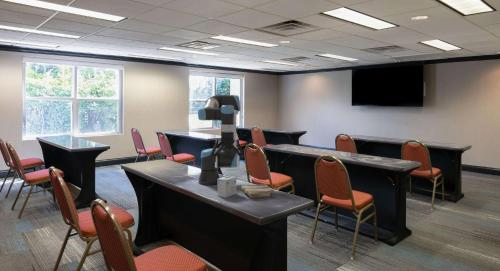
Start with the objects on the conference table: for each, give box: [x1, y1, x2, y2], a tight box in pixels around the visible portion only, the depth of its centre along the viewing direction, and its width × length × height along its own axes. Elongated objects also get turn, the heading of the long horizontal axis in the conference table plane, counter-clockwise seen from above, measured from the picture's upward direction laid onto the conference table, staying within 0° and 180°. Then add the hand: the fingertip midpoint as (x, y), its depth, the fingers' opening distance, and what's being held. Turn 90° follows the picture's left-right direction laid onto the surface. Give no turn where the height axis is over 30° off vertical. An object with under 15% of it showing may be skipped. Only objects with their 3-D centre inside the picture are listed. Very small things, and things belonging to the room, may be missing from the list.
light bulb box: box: [217, 175, 237, 198], centre depth 202 cm, size 11×7×11 cm, turn 145°
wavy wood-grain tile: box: [240, 183, 275, 199], centre depth 204 cm, size 16×16×4 cm
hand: (227, 166), depth 201 cm, fingers open, 13 cm apart
